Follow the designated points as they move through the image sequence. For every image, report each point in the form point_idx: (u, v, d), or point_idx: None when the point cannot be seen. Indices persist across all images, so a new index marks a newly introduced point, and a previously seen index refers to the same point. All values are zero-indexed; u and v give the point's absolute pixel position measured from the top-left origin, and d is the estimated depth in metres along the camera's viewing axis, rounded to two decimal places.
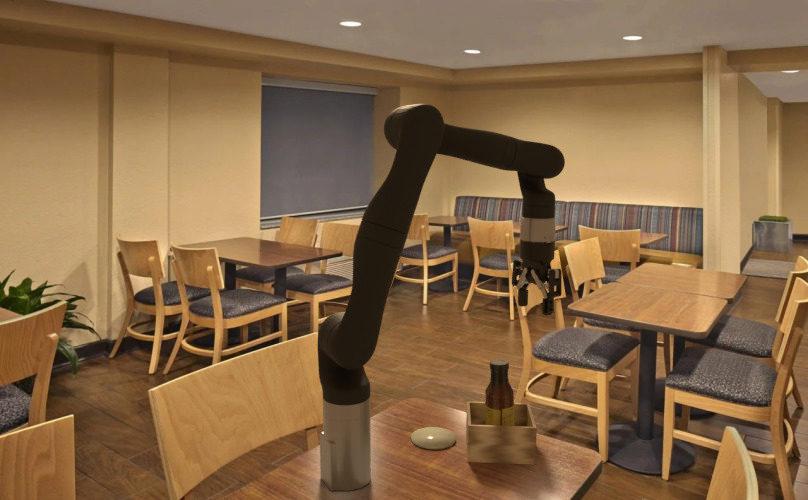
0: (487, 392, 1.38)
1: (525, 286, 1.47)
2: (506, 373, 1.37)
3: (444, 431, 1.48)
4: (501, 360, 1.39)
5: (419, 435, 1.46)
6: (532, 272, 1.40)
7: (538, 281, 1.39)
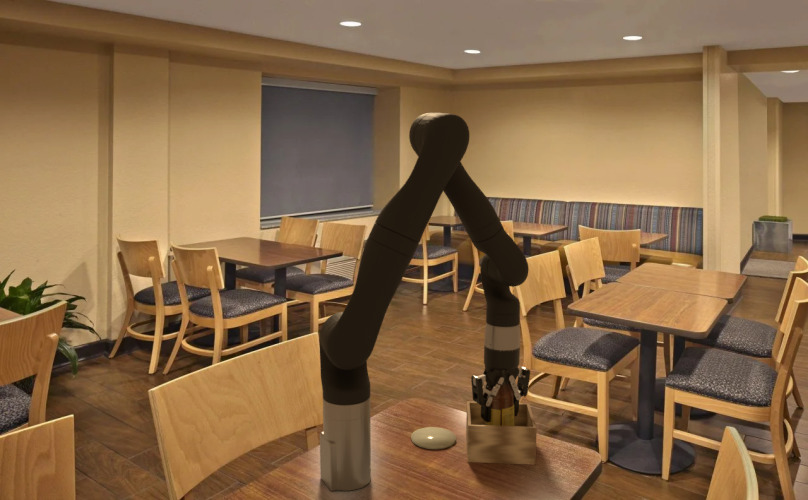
0: None
1: None
2: (506, 373, 1.37)
3: (444, 431, 1.48)
4: None
5: (419, 435, 1.46)
6: (511, 378, 1.37)
7: (515, 385, 1.39)
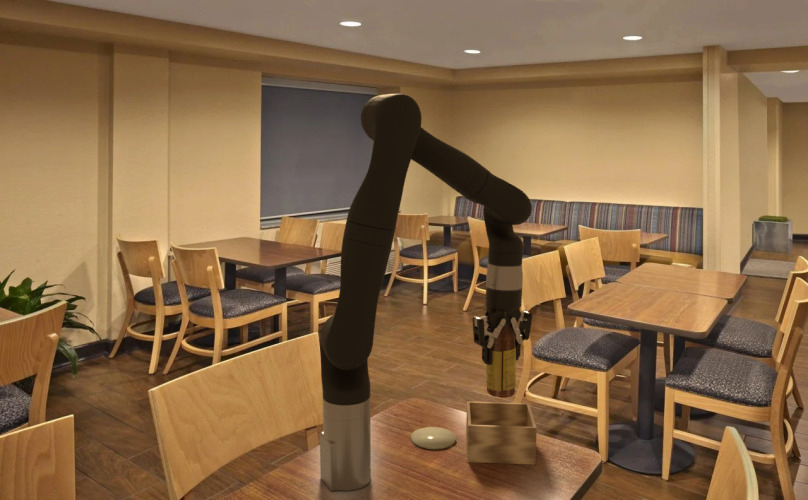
0: None
1: None
2: (508, 315, 1.35)
3: (444, 431, 1.48)
4: None
5: (419, 435, 1.46)
6: (512, 320, 1.35)
7: (517, 328, 1.37)
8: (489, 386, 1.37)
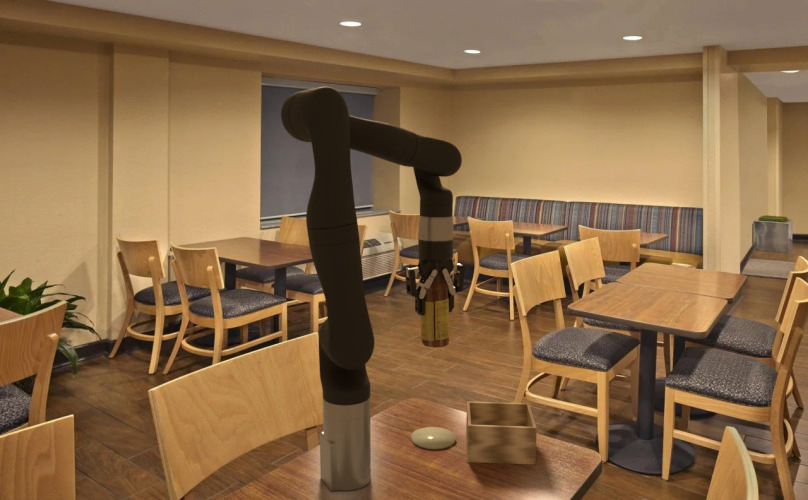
0: None
1: None
2: (440, 266, 1.38)
3: (444, 431, 1.48)
4: None
5: (419, 435, 1.46)
6: (444, 271, 1.38)
7: (449, 279, 1.40)
8: (423, 336, 1.40)
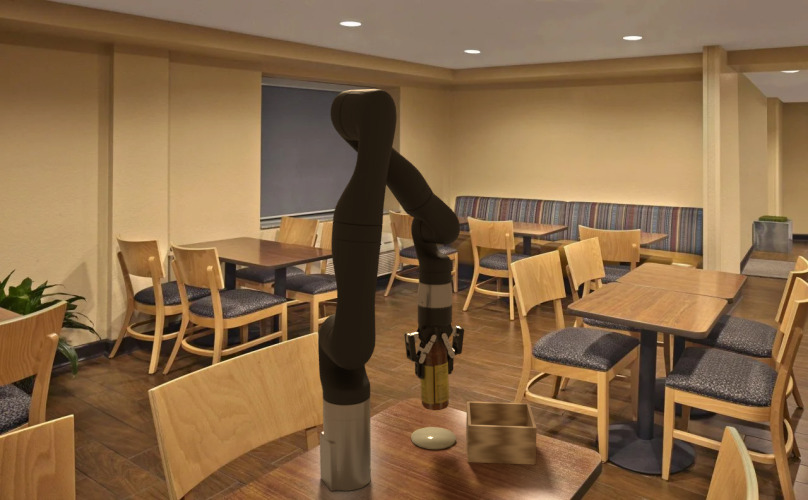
0: None
1: None
2: (439, 331, 1.40)
3: (444, 431, 1.48)
4: None
5: (419, 435, 1.46)
6: (443, 336, 1.41)
7: (449, 343, 1.42)
8: (423, 399, 1.43)
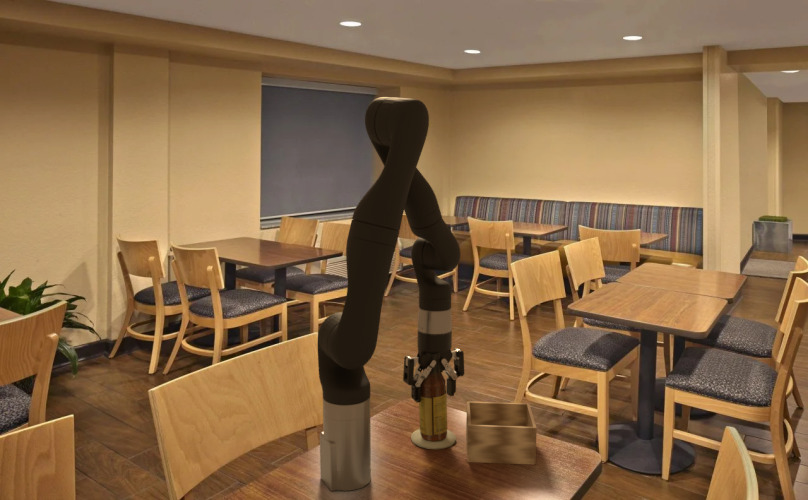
0: None
1: None
2: (437, 363, 1.42)
3: None
4: None
5: (419, 435, 1.46)
6: (443, 361, 1.42)
7: (449, 367, 1.43)
8: (421, 430, 1.44)
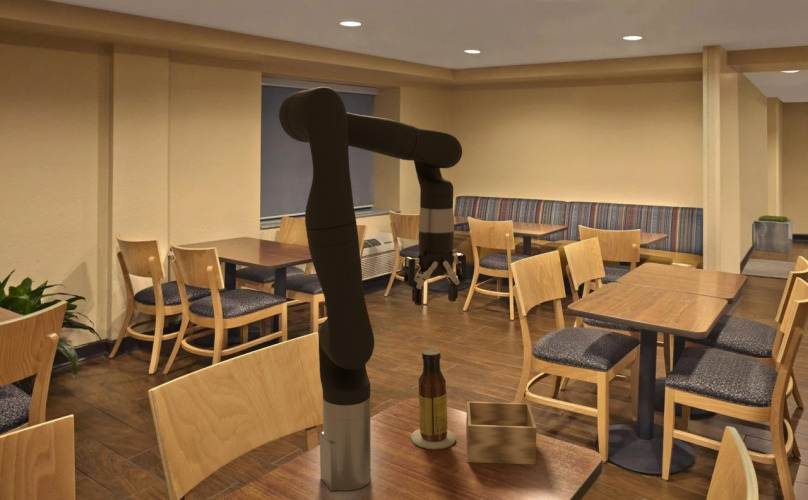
0: (420, 381, 1.43)
1: None
2: (437, 363, 1.42)
3: None
4: (433, 350, 1.43)
5: (419, 435, 1.46)
6: (445, 263, 1.38)
7: (451, 270, 1.39)
8: (421, 430, 1.44)
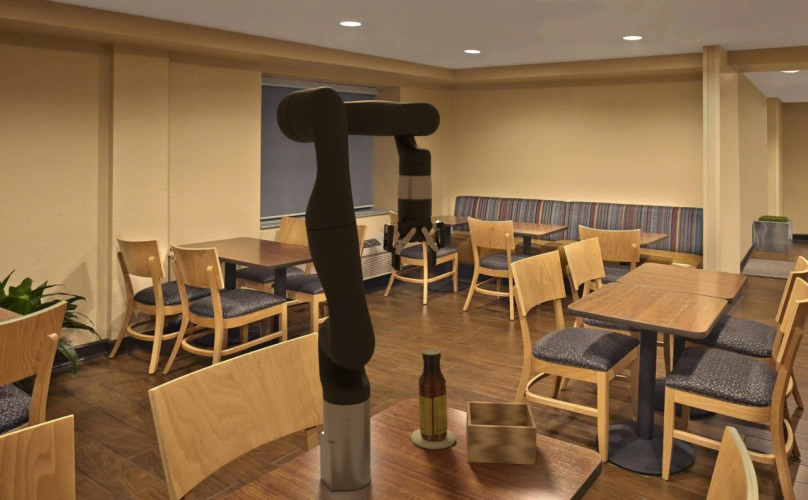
0: (420, 381, 1.43)
1: None
2: (438, 363, 1.42)
3: None
4: (434, 350, 1.43)
5: (419, 435, 1.46)
6: (423, 230, 1.41)
7: (429, 237, 1.43)
8: (421, 430, 1.44)
